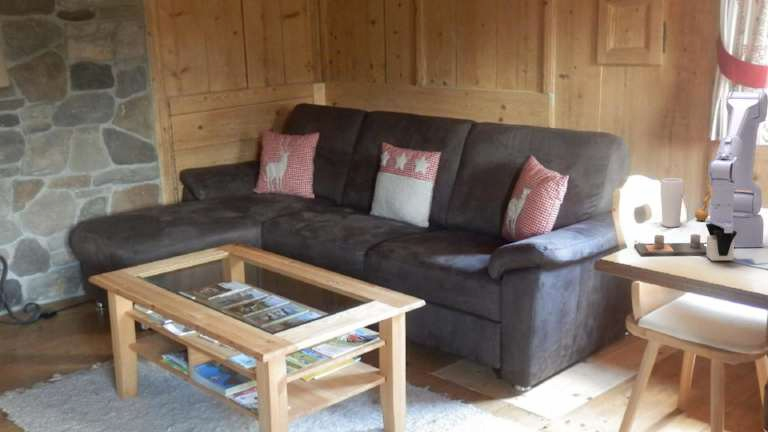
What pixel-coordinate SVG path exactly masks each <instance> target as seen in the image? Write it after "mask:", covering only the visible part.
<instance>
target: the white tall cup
mask: <svg viewBox="0 0 768 432" xmlns="http://www.w3.org/2000/svg"><path fill="white" fill-rule="evenodd" d="M683 179H684V178H683ZM683 179H682V178H678V177H667V178H662V179H661V180H660V181H661V182H660V202H661V203H660V204H661V220H662V221H661V225H662V226H663V227H664V228H678V227H679V226H680V224H681V215H682V213H681V212H682V204H683V198H684V180H683Z"/></svg>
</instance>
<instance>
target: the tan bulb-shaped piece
mask: <svg viewBox="0 0 768 432" xmlns="http://www.w3.org/2000/svg"><path fill="white" fill-rule="evenodd" d="M706 188H707V191H706V193H707V194H706V196H705V198H703V200H702V203H703V205H704V206H703V207H701V208H698V209H697V210H695V213H694V216H695V218H696V220H698V221H700V222H703V221H705V220H706V219H708V218H709V212H708V210H706V209H707V206H708V203H707V202H708V201H709V200H711V187H710V184H707V185H706Z"/></svg>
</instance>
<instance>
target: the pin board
mask: <svg viewBox="0 0 768 432" xmlns="http://www.w3.org/2000/svg"><path fill="white" fill-rule="evenodd" d="M689 241H690V242H670V243H669V242H668V243H667V242H666V243H665V236H664V235H662V234H656V235H654V243H633V245H634V246H633V247H634V249H635V250H636V251H637V253H638V254H639V256H640V257H670V256H671V257H680V256H681V257H683V256H684V257H688V256H690V257H691V256H697V257H698V256H707V255H706V251H707V247H706V246H704V244H707V242H701V235H700V234H696V233H693V234H690V240H689Z"/></svg>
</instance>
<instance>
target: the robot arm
mask: <svg viewBox="0 0 768 432" xmlns="http://www.w3.org/2000/svg"><path fill="white" fill-rule="evenodd" d="M725 103H726V106H725V107H726V110H727V113H728V116H729V117H730V118H729V123H728V129H727V133H726V136H724V137H722V138H721V139H720V143H719V146H718V149H717V153H716V155H715V159H714V160H711V161H710V164H709V165H708V167H709V168H708V178H709V185H710V187H711V198H710V211H709V212H710V214H709V218H707V219H706V220H704V221H705V223H706V224H705V227H706V228H707V230H708V234H709V236H711V235H715V236H716V239H717V246H718V253H719V256H727V255H728V252H729V249H730V246H731V243H732V241H733V240H734V247H735V248H763V247H764V227H765V226H764V225H765V224H764V218H763V216H762V215H761V214H760V212H761V208H762V205H763V204H762V203H763V202H762V201H763V199H762V197H763V196H762V191H763V190H762V189H761V187H760V186H759V185H758V184H756V182H754V181H753V177H754V168H755V165H754V164H755V159H756V158H755V157H756V146H757V140H758V132H759V131H758V130H759V127H760V124H762V123H763V122H765V121H766V118H767V116H768V115H767V114H768V94H767V92H766V91H734V90H732V91H730V92H729V93H728V94H727V97H726V102H725ZM735 190H736V191H735ZM738 190H739V191H738ZM746 191H747V192H746Z"/></svg>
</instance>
